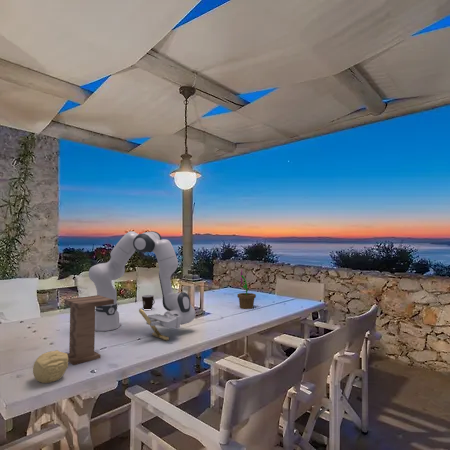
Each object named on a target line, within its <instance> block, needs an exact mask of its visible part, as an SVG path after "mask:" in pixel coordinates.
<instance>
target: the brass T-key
mask: <svg viewBox="0 0 450 450" xmlns="http://www.w3.org/2000/svg"><path fill="white" fill-rule="evenodd" d="M138 312H139V314H140V315H141V316H142V317H143V319H144V320H145V321H146V322H147V323H148V324H149V327H150V328H151V330H152V331H153V332H152V333H151V335H152V336H153V337H155V338H159V339H161V340H164V341H166V342H167V341H169V340H170V337H169V336H166V335H164V334H162V333H161V332H160V331H159V329H158V327H156V325H154V326H151V325H150V322H152V321H151V320H150V319H149V317H148V315H147V314H146V312H145V310H143V308H140V309H139V310H138ZM148 324H147V325H148Z"/></svg>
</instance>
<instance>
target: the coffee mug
mask: <svg viewBox="0 0 450 450" xmlns="http://www.w3.org/2000/svg"><path fill="white" fill-rule="evenodd" d="M154 297H155V296H154V295H152V294H144V295H141V301H142V309H143V308H144V309H151V308H152V309H153V305H154V304H155V301H156V300H155V299H154Z"/></svg>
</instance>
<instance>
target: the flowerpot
mask: <svg viewBox="0 0 450 450" xmlns="http://www.w3.org/2000/svg"><path fill="white" fill-rule="evenodd" d="M243 281H244V283H245V284H244V285H243V286H242V288H243V289H245V292H239V293H237V296H236V297H237V298H238V302H239V308H240V309H241V310H252V309H254V304H255V299H256V297H257V295H256V293H253V292H248V290H249V288H248V285H247V281H246V279H245V277H244V275H243V268H241V270H240V285H242V284H243Z"/></svg>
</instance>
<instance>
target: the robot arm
mask: <svg viewBox="0 0 450 450" xmlns="http://www.w3.org/2000/svg"><path fill="white" fill-rule="evenodd" d="M135 252H139V253H154V255H155V257H156V259H157V260H156V261H157V263H158V264H157V265H158V269H159V271H158V276H159V277H158V279H159V283H160V288H161V294H162V306H163V308H164V309H165V310H166V311H165V312H164V314H161V313H160V314H159V313H157V314H156V313H154V314H148V315H147V316H148V317H149V319H150V320H151V321H152V322H150V325H151V326H154V325H155V326H159V327H162V328H164V329H175V328H176V329H179V328H180V327H181V326H183V325H186V324H189V323H191V322H193V321H194V319H195V318H196V310H195V308H194V307H193V306H192V303H191V299H190V296H189V294H188V293H186V292H184V291H182V292H176V293H175V292H174V291H173V288H172V282H171V277H172V275H173V274H174V273H175V272H176V271H177V269H178V267H179V260H178V258H177V254H176V251H175V248H174V247H173V245H172V243H171V241H170V240H169V239H166V238H165V239H163V238H162V235H161V234H160V233H159V232H157V231H153V230H151V231H145V232H142V233H137V232H136V231H131V230H130V231H128V232H126V233H125V234H124V235H123V236H122V237H121V238H120V240H119V241H118V242H116V244H115V246H114V247H113V249H112V250H111V251H110V254H109V255H110V259H109V260H108V261H107V262H102V263H101V262H100V263H97V264H95V265H93V266H91V267H90V268H89V269H88V277H89V280H90V281H91V282H93V284H94V286H95V289H96V295H100V296H103V297H107V298H110V299H114V304H110V305H103V306H97V307H95V332H96V331H97V332H105V331H107V332H108V331H114V330H116V329H118V328H120V326H122V323H121V322H120V312H119V311H118V303H117V302H118V301H117V297H118V296H117V295H118V293H117V289H116V288H115V287H114V286H113V283H112V281H115V280H118V279H120V278H122V277H123V276H124V275H125V272H126V269H125V266H126V264H127V263H128V261H129V259H131V257H132V256H133V255H134V253H135ZM146 325H149V324H148V323H147V321H146ZM150 325H149V326H150Z"/></svg>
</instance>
